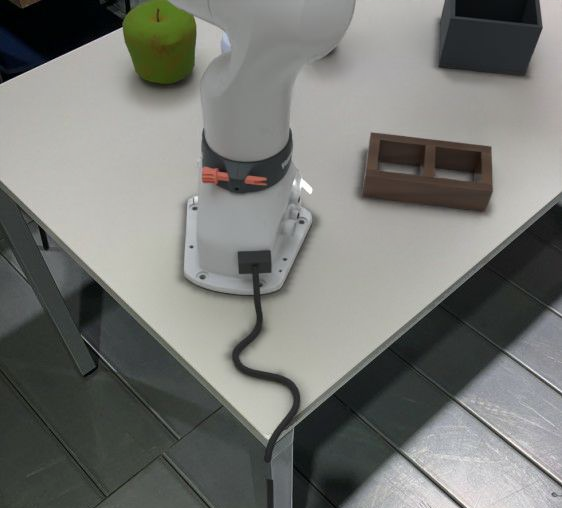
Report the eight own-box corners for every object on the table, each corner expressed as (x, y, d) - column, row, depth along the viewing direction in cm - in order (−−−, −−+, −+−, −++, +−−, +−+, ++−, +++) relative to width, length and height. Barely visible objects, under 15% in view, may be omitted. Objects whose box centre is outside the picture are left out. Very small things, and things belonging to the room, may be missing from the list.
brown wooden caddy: (484, 211, 94) (493, 191, 91) (361, 196, 95) (365, 175, 92) (483, 167, 99) (491, 146, 96) (367, 153, 101) (370, 131, 97)
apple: (143, 49, 114) (132, -16, 105) (208, 57, 113) (202, -7, 104) (122, 89, 108) (108, 24, 98) (190, 99, 107) (182, 34, 97)
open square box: (524, 76, 112) (542, 27, 105) (438, 66, 113) (450, 18, 106) (520, 28, 121) (537, -20, 113) (440, 20, 122) (451, -28, 114)
